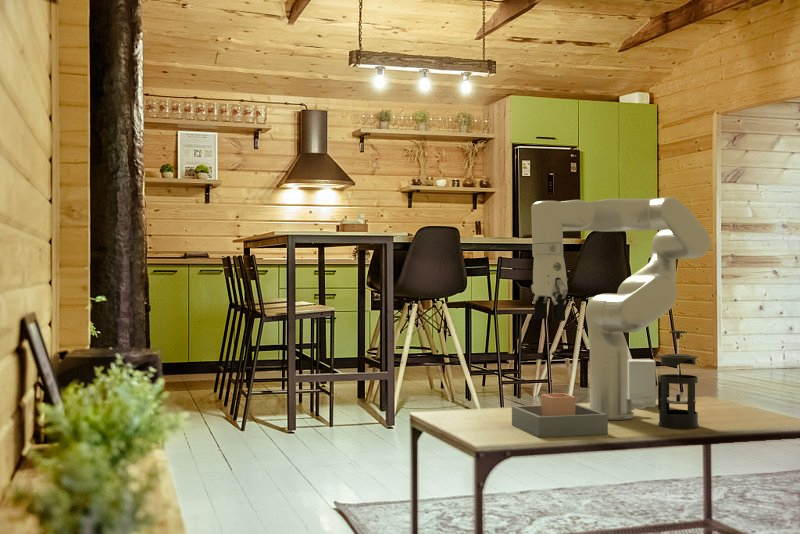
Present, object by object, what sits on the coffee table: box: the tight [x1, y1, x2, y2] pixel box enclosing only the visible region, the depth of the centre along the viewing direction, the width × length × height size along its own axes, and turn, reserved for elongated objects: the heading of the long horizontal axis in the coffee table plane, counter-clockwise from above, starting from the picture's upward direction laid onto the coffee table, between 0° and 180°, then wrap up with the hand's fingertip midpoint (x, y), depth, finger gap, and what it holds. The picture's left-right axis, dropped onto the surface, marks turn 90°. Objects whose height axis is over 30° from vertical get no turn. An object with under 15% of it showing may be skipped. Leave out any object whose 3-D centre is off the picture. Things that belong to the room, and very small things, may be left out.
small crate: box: [540, 392, 576, 416], centre depth 210 cm, size 6×6×7 cm
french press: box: [657, 330, 700, 430], centre depth 215 cm, size 12×9×23 cm
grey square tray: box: [511, 403, 609, 438], centre depth 210 cm, size 17×17×4 cm
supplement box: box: [628, 358, 657, 408], centre depth 248 cm, size 7×7×13 cm
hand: (549, 319), depth 220 cm, fingers open, 9 cm apart
